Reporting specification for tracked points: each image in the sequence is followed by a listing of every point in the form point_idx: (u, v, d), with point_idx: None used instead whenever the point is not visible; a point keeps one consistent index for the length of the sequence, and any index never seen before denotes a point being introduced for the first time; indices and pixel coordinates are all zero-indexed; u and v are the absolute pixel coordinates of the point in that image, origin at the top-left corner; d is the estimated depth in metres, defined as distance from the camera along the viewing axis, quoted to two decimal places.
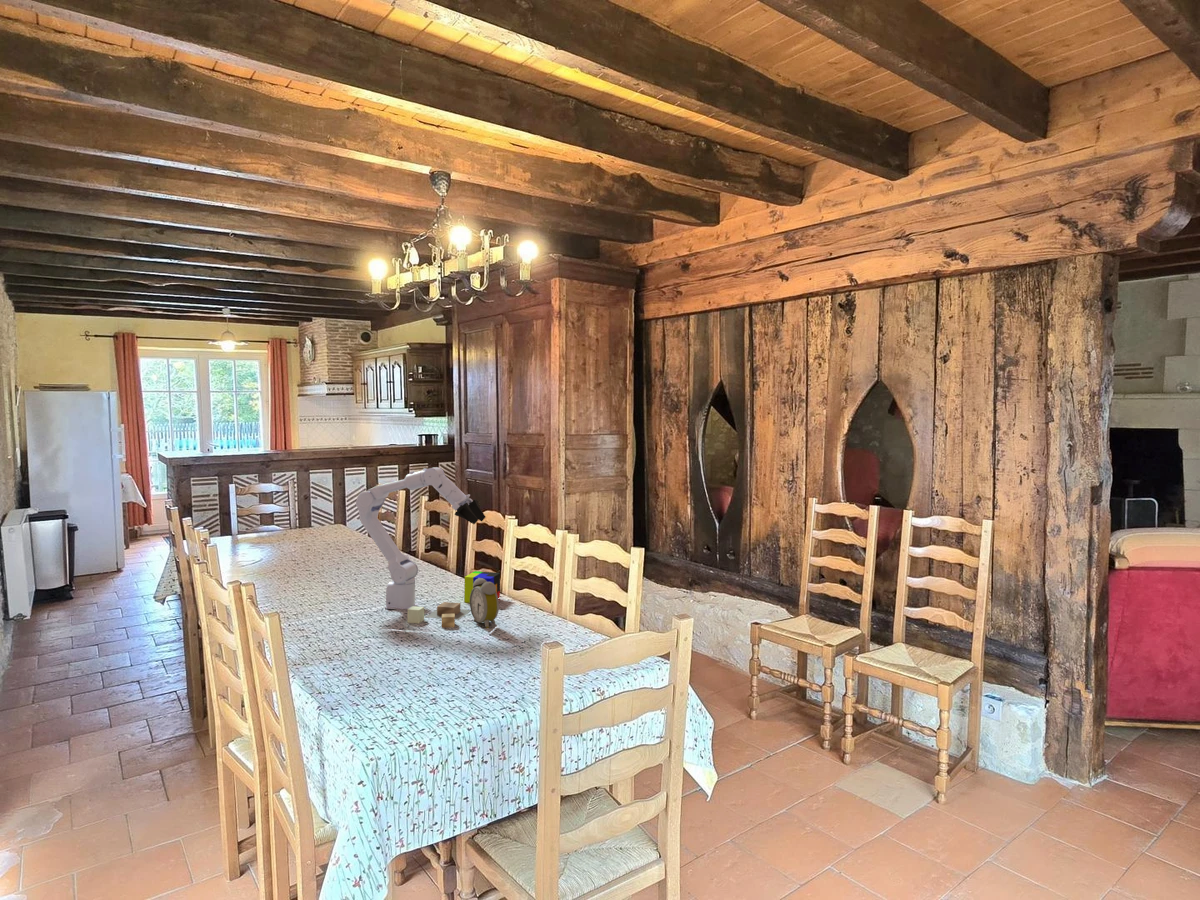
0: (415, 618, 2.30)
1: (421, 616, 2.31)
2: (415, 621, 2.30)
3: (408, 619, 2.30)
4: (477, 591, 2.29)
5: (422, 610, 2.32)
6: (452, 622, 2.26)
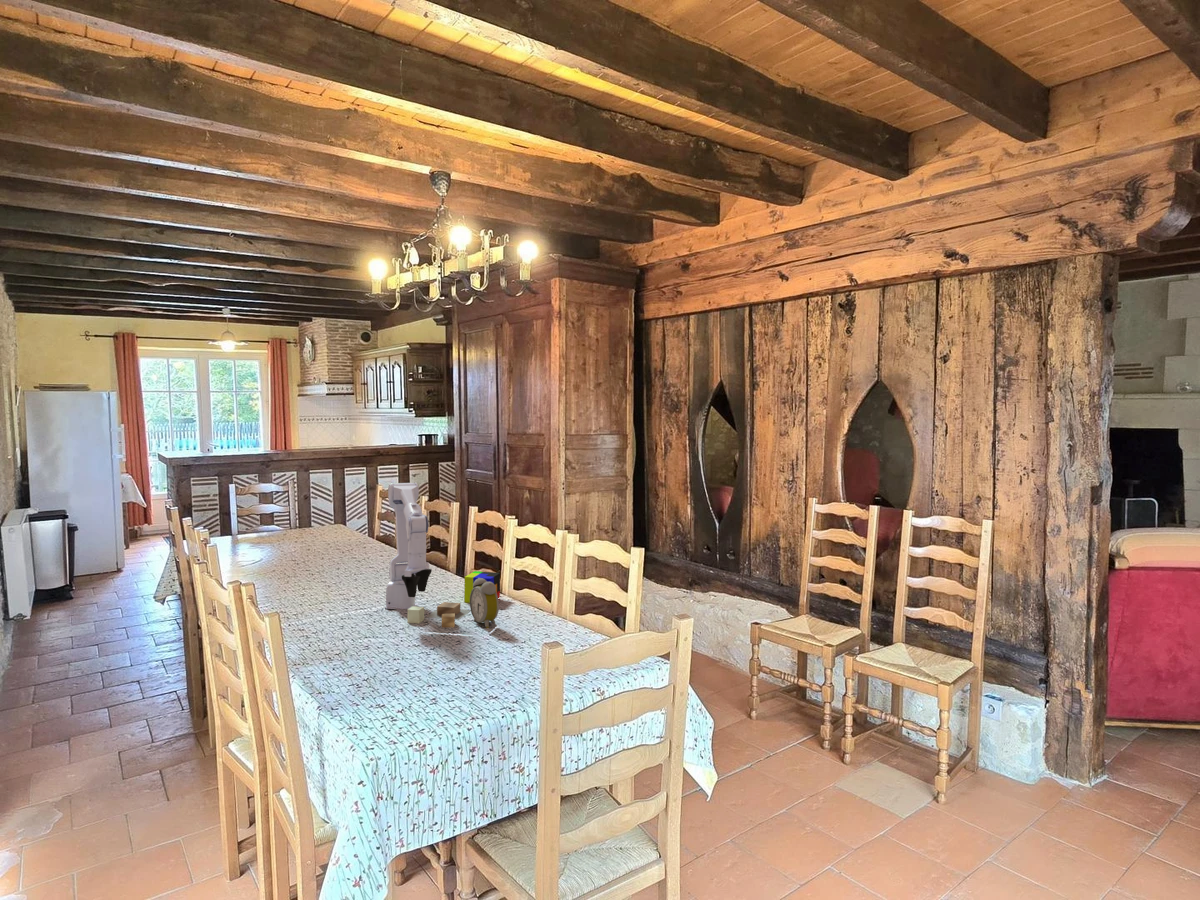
0: (415, 618, 2.30)
1: (421, 616, 2.31)
2: (415, 621, 2.30)
3: (408, 619, 2.30)
4: (477, 591, 2.29)
5: (422, 610, 2.32)
6: (452, 622, 2.26)
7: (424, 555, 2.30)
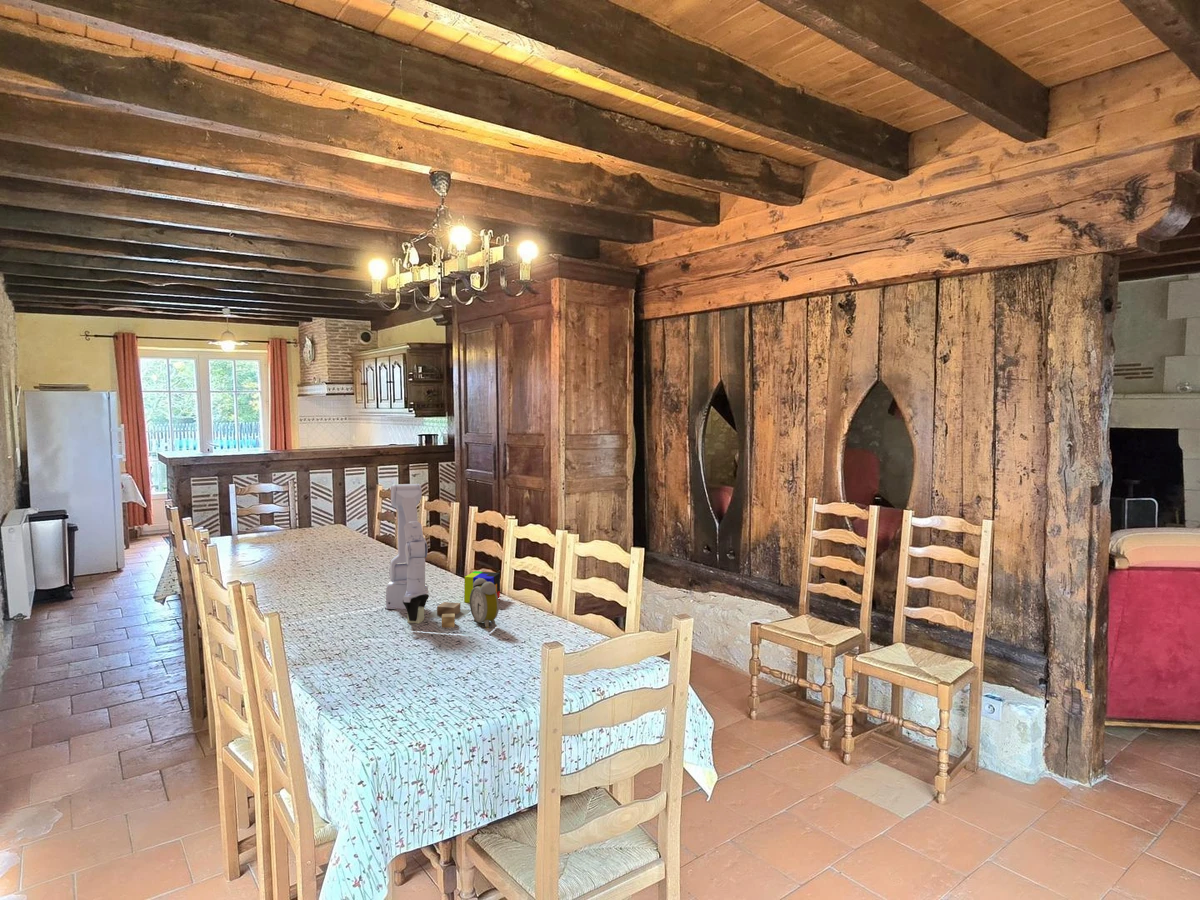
0: None
1: (421, 616, 2.31)
2: (415, 621, 2.30)
3: (408, 619, 2.30)
4: (477, 591, 2.29)
5: (422, 610, 2.32)
6: (452, 622, 2.26)
7: (423, 580, 2.30)
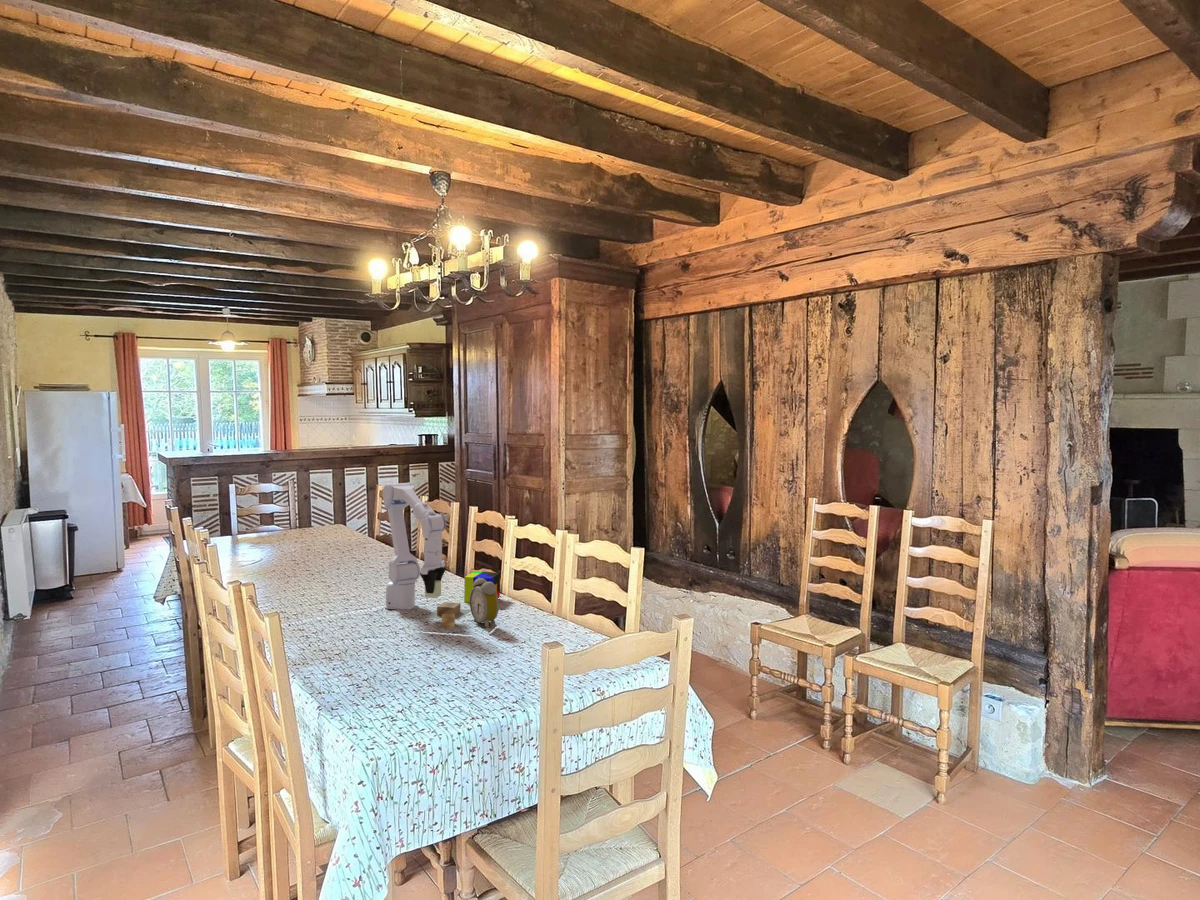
0: None
1: (438, 589, 2.36)
2: (432, 594, 2.34)
3: (425, 592, 2.35)
4: (477, 591, 2.29)
5: (439, 583, 2.36)
6: (452, 622, 2.26)
7: (440, 553, 2.35)
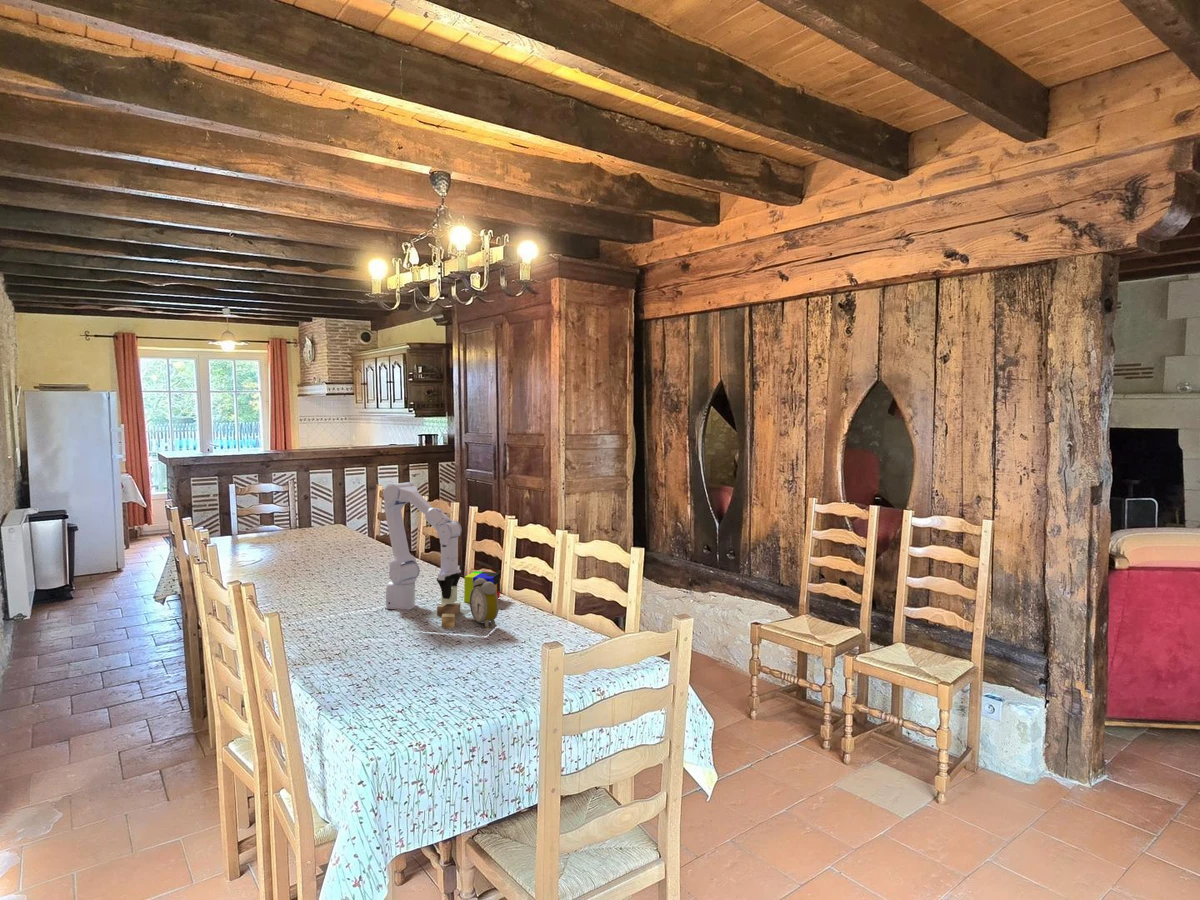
0: None
1: (454, 595, 2.41)
2: (449, 599, 2.39)
3: (442, 597, 2.39)
4: (477, 591, 2.29)
5: (455, 589, 2.41)
6: (452, 622, 2.26)
7: (456, 559, 2.40)
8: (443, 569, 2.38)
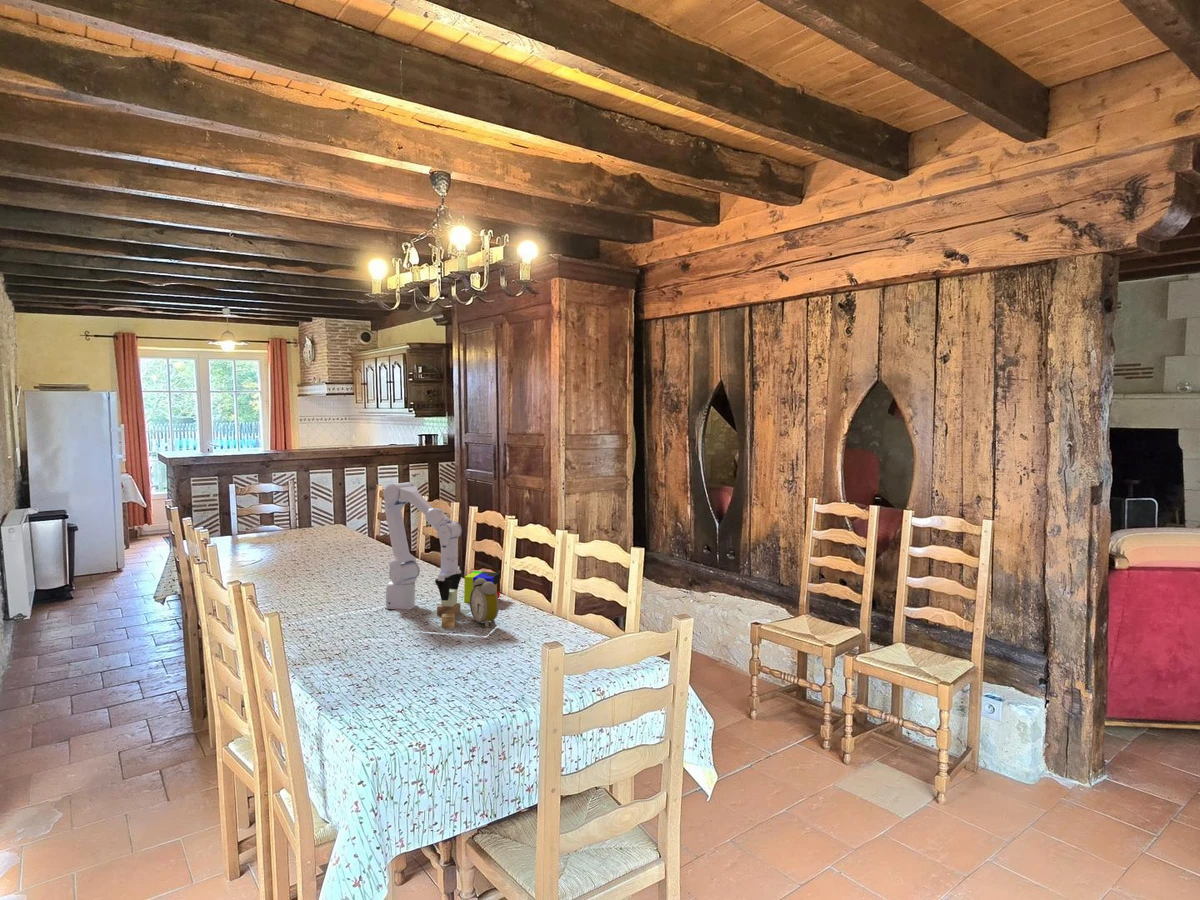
0: (448, 599, 2.39)
1: (454, 598, 2.41)
2: (449, 602, 2.39)
3: (442, 601, 2.40)
4: (477, 591, 2.29)
5: (455, 592, 2.41)
6: (452, 622, 2.26)
7: (456, 560, 2.40)
8: (443, 570, 2.38)
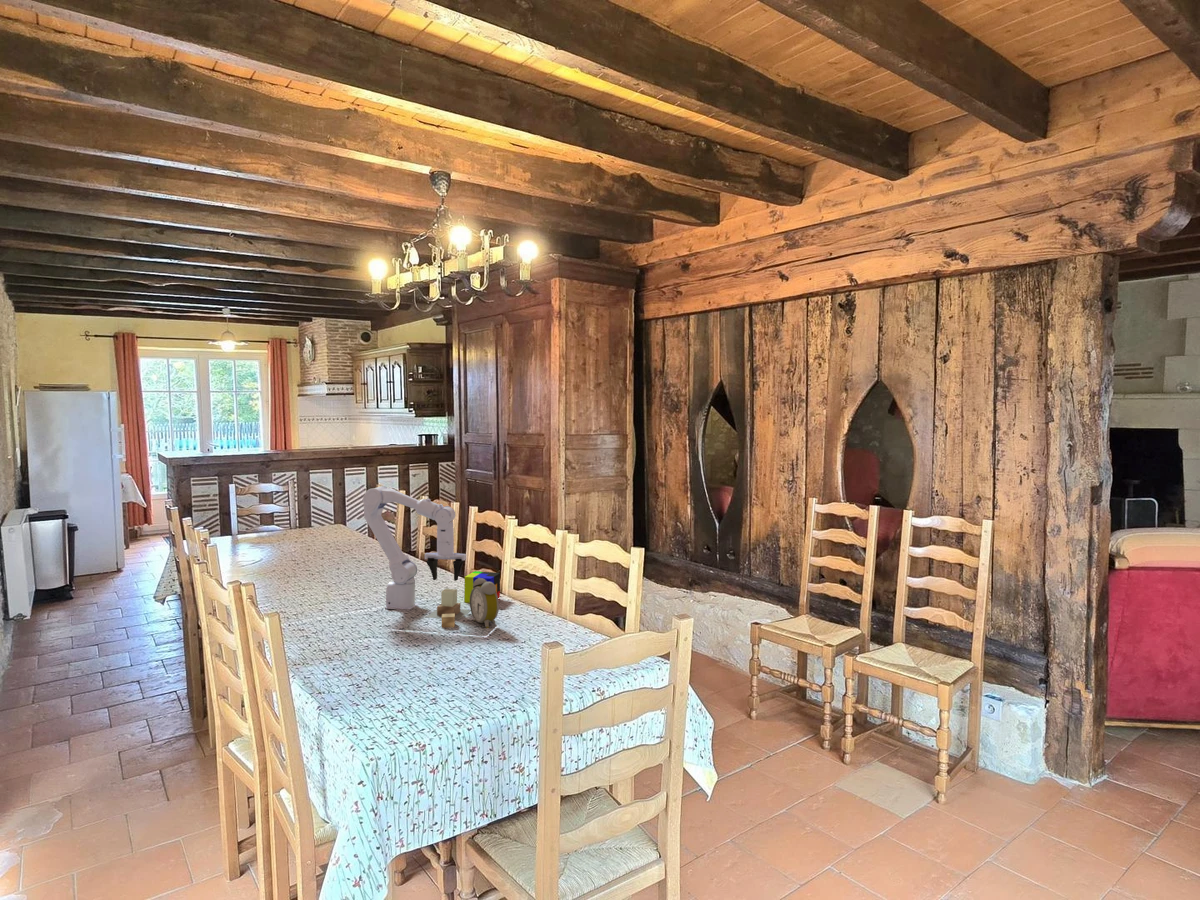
0: (448, 599, 2.39)
1: (454, 598, 2.41)
2: (449, 602, 2.39)
3: (442, 601, 2.40)
4: (477, 591, 2.29)
5: (455, 592, 2.41)
6: (452, 622, 2.26)
7: (441, 544, 2.46)
8: None
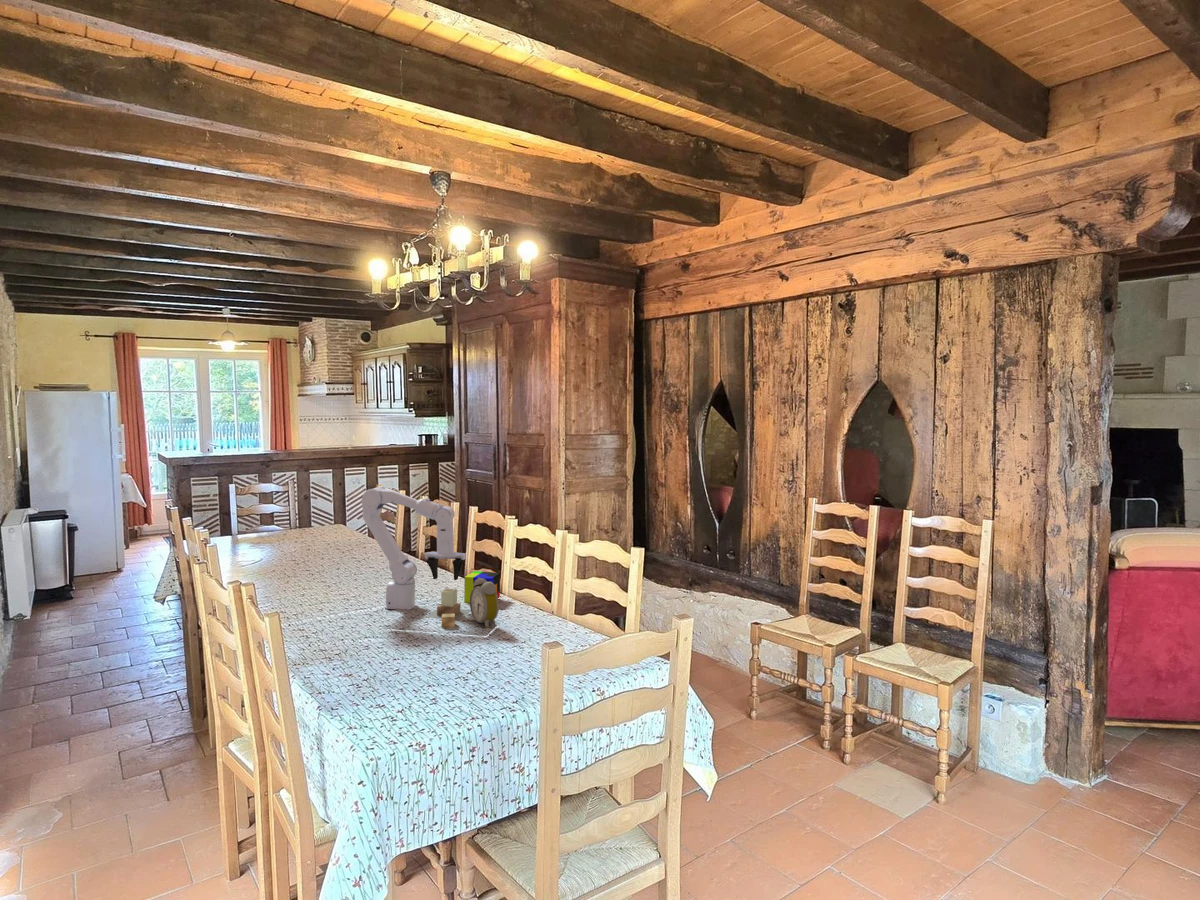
0: (448, 599, 2.39)
1: (454, 598, 2.41)
2: (449, 602, 2.39)
3: (442, 601, 2.40)
4: (477, 591, 2.29)
5: (455, 592, 2.41)
6: (452, 622, 2.26)
7: (440, 544, 2.46)
8: None
